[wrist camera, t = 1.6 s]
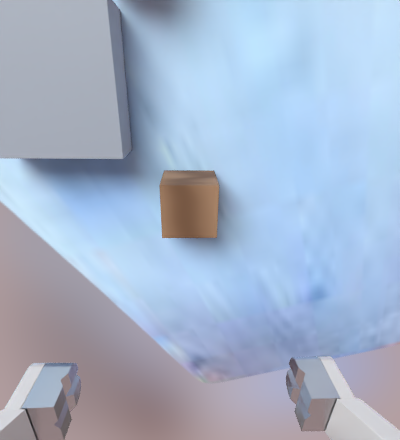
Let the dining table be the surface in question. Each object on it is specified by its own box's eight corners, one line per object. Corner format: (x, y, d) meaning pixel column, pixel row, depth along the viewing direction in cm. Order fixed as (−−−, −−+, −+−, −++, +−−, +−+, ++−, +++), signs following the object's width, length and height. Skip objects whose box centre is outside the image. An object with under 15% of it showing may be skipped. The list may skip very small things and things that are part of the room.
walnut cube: (213, 170, 27) (219, 185, 23) (212, 215, 30) (216, 237, 25) (164, 170, 27) (159, 185, 23) (166, 215, 29) (162, 237, 25)
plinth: (119, 9, 22) (105, -8, 18) (132, 150, 26) (123, 158, 22) (-24, 5, 21) (-68, -14, 17) (14, 149, 26) (-14, 158, 22)
